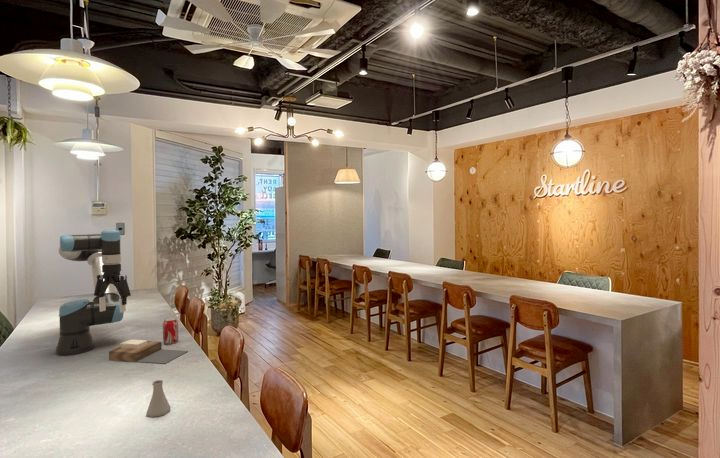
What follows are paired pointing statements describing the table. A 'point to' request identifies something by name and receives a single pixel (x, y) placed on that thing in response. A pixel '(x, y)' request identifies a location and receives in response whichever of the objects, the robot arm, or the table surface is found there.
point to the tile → (133, 344)
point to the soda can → (170, 330)
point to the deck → (134, 352)
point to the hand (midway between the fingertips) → (112, 311)
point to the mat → (162, 356)
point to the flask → (158, 401)
